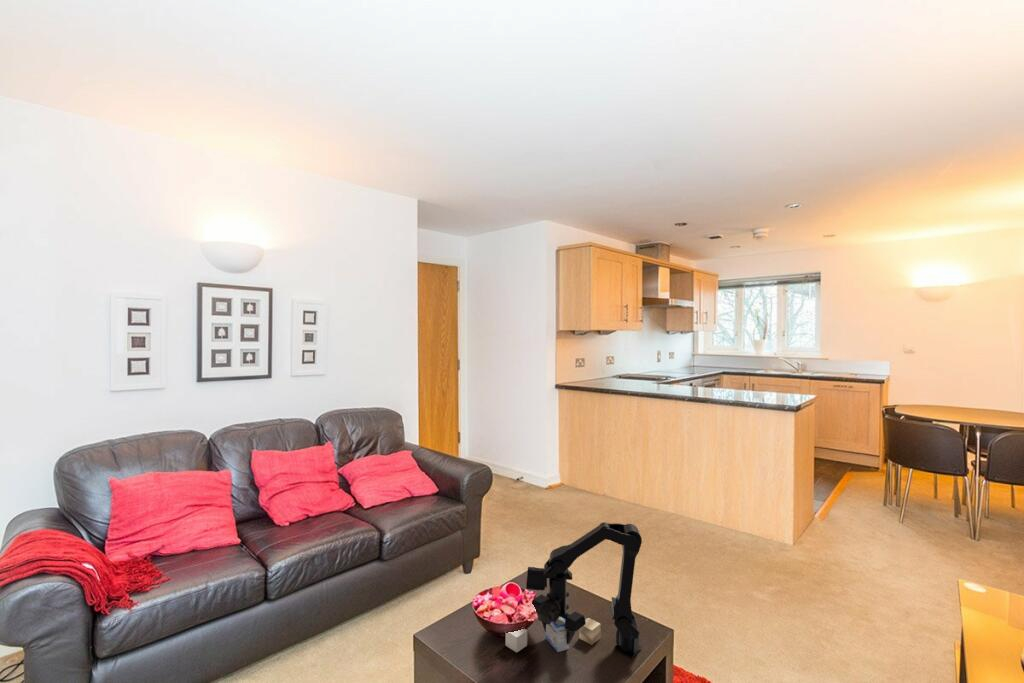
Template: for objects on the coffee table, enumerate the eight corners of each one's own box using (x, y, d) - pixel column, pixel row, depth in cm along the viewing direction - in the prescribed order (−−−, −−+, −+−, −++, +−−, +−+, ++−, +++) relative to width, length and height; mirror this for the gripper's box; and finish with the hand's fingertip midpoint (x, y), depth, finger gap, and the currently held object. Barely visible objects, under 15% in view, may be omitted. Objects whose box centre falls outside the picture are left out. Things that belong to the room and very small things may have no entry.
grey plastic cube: (527, 645, 156) (527, 630, 156) (516, 652, 152) (516, 637, 152) (516, 638, 159) (516, 623, 159) (505, 645, 155) (505, 630, 155)
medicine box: (545, 638, 159) (545, 612, 159) (556, 635, 161) (557, 609, 161) (557, 653, 152) (557, 626, 152) (569, 649, 154) (569, 622, 154)
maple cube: (600, 638, 160) (600, 623, 160) (591, 645, 156) (592, 630, 156) (587, 631, 163) (588, 617, 163) (579, 638, 160) (579, 623, 159)
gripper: (520, 589, 157) (519, 636, 157) (565, 612, 144) (564, 663, 144) (542, 576, 165) (541, 621, 165) (586, 597, 152) (586, 646, 152)
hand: (557, 637), depth 156 cm, fingers open, 9 cm apart
